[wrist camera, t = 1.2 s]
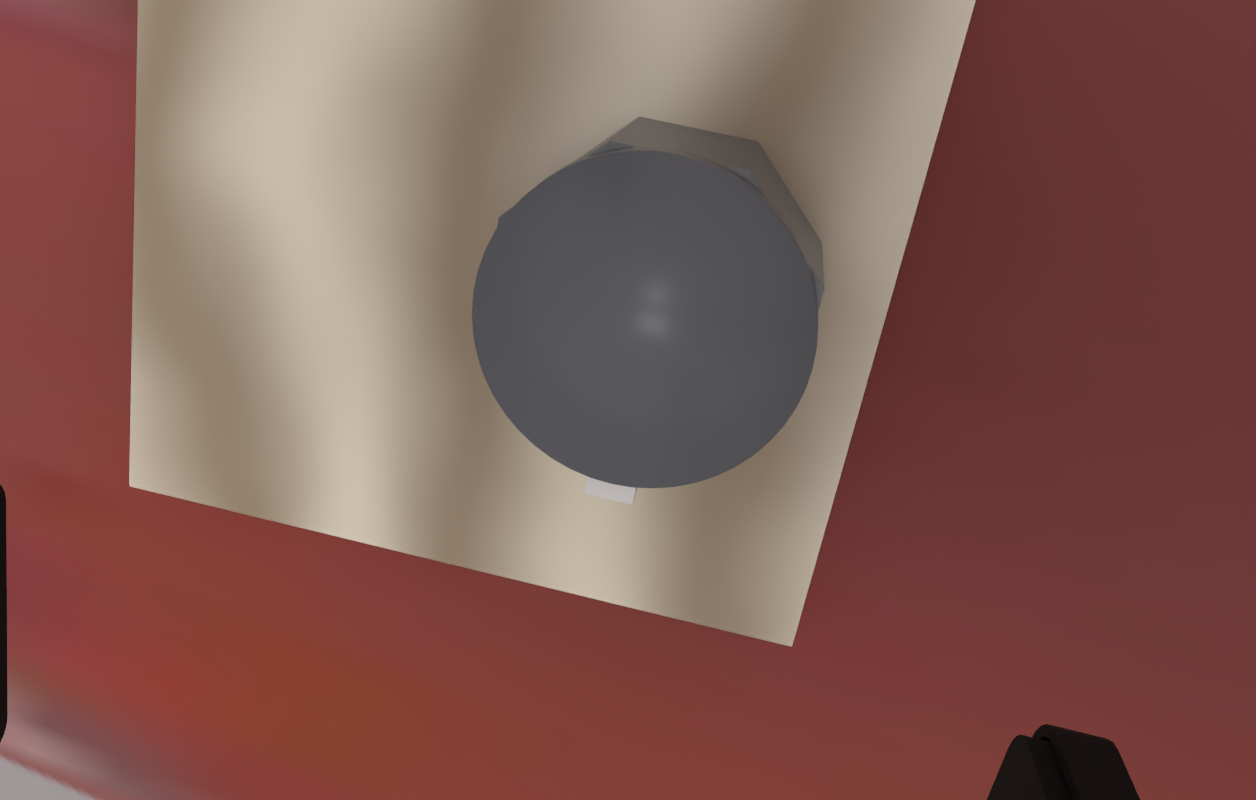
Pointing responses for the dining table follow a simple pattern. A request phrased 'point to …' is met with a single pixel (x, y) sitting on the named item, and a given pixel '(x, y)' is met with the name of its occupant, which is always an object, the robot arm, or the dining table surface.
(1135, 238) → the dining table surface
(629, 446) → the cap
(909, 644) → the dining table surface
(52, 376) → the dining table surface
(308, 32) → the board
